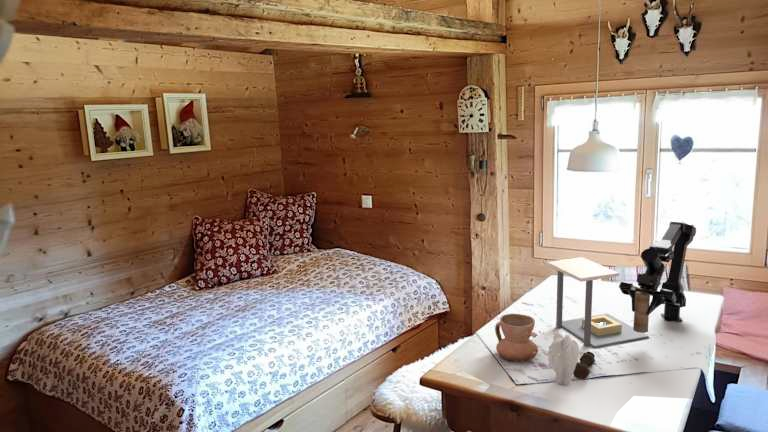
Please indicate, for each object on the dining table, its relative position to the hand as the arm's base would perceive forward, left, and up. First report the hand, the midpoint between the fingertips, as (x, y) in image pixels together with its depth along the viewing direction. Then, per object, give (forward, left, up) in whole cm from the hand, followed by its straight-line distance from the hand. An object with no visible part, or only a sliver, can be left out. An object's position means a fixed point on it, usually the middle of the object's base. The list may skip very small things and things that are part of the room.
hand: (640, 312), depth 208 cm
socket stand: (-13, -13, -13) cm, 23 cm away
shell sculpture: (+29, -30, -14) cm, 44 cm away
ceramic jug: (+11, -44, -14) cm, 47 cm away
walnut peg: (-1, +1, -7) cm, 7 cm away
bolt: (+19, -21, -14) cm, 32 cm away
